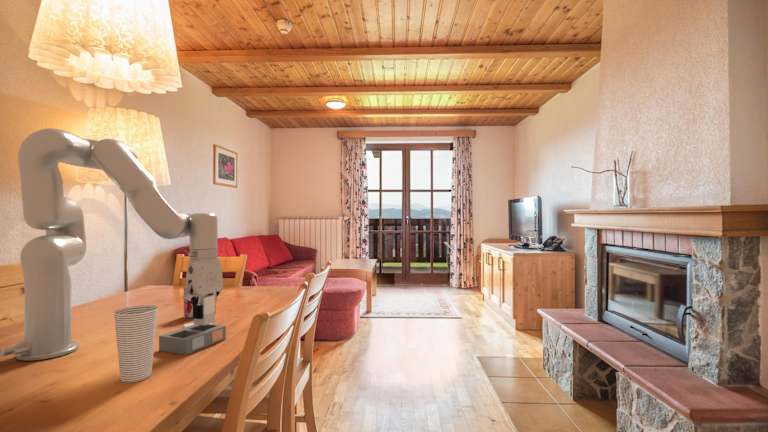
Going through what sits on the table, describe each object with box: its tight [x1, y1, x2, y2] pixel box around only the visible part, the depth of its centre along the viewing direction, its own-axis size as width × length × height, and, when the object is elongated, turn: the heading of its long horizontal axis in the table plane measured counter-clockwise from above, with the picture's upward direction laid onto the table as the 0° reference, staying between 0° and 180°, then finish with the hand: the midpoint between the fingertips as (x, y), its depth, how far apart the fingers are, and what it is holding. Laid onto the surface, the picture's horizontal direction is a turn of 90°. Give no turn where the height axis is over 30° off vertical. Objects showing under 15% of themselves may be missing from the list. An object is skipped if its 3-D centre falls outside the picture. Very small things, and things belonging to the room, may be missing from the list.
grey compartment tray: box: [158, 323, 227, 356], centre depth 111 cm, size 14×10×4 cm
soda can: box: [183, 286, 194, 319], centre depth 142 cm, size 7×7×12 cm
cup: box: [113, 305, 159, 383], centre depth 88 cm, size 8×8×16 cm
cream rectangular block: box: [193, 294, 216, 325], centre depth 114 cm, size 4×4×8 cm
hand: (204, 315), depth 114 cm, fingers closed on cream rectangular block, 4 cm apart
